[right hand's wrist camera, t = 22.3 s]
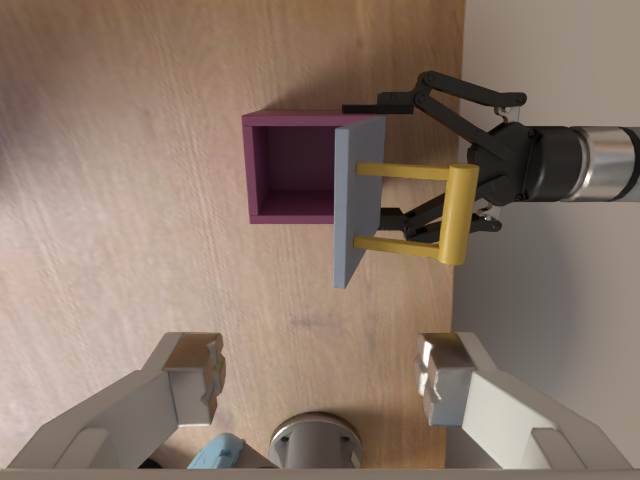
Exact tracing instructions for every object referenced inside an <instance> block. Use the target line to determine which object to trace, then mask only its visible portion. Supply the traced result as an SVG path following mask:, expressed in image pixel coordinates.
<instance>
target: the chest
mask: <svg viewBox="0 0 640 480" xmlns="http://www.w3.org/2000/svg"><path fill="white" fill-rule="evenodd" d="M375 116H380V115H377V114H343V113H342V110H259V111H256V112H253V113H249V114H246V115H242V129H243V142H244V156H245V169H246V182H247V195H248V208H249V221H250V224H334V178H335V129H336V128H339V127H342V126H345V125H349V124H352V123H355V122H358V121H362V120H365V119H368V118H371V117H375Z"/></svg>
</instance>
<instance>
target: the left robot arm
mask: <svg viewBox="0 0 640 480" xmlns="http://www.w3.org/2000/svg"><path fill="white" fill-rule="evenodd" d="M431 89H434V90H437V91H440V92H444V93H447V94H450V95H453V96H456V97H459V98H462V99H465V100H468V101H472V102H475V103H478V104H481V105H485V106H492V107H494V112H495V114H497V115H500V116H502V117H503V119H504V122H503V123H501V124H499V125H498V126H496V127H495V128H493V129H492V130H490V131H489V132H487V133H486V132H485V131H483V130H481V129H479V128H478V127H476V126H474V125H473V124H471V123H470V122H468V121H467V120H465V119H464V118H462V117H461V116H459V115H458V114H456V113H455V112H453V111H452V110H450V109H449V108H447V107H445V106H444V105H442V104H441V103H439V102H438V101H436V100H435V99H433V98H432V97H430V96H429V93H430V91H431ZM526 100H527V96H526V94H525V93H519V92H518V93H517V92H516V93H515V92H508V93H499V92H496V91H493V90H490V89H487V88H484V87H480V86H477V85H474V84H471V83H468V82H465V81H462V80H459V79H456V78H453V77H450V76H447V75H444V74H441V73H438V72H435V71H427V72H423V73H421V74H420V75H419V76H418V81H417V83H416V86H415V88H414V89H413V90H412V91H410V92H382V93H380V94H378V96H377V105H342V113H343V114H413V110H414V106H415V107H416V108H418V109H419V110H421V111H423V112H424V113H426V114H427V115H429V116H430V117H432V118H433V119H435V120H437V121H438V122H440V123H441V124H443V125H444V126H446V127H447V128H449V129H451V130H452V131H454V132H455V133H457V134H458V135H460V136H461V137H462V138H464V139H465V140H467V141H468V142H470V143H471V144H472V145H471V147H470V148H468V152H467V160H468V164H473V165H477V166H479V174H478V181H477V187H476V193H475V199H474V202H475V201H477V200H479V199H481V198H484V199H485V200H487V201H488V202H489V205H488V206H487V207H486V208H483V209H479V210H478V211H477V213H472V218H471V224H470V231H469V233H473V232H477V231H489V232H497V231H499V230H500V229H501V227H502V224H501V222H499V221H498V219H499V216H500V212H501V208H502V206H505V205H507V204H509V203H511V202H556V201H561V202H640V127H608V126H573V127H569V128H568V127H565V126H524V125H522V124H521V123H519V122H518V119H519V112H520V106H522V105H524V104H525V102H526ZM444 199H445V193H443V194H441V195H439V196H437V197H436V198H434V199H432V200H430V201H428V202H426V203H424V204H422V205H420V206H418V207H416V208H414V209H413V210H411V211H409V212H407V213H405V214H403V213H402V211H401V210H400V208H381V209H380V225H379V227H378V229H377V230H400V231H402V232H403V234H404V238H405V239H406V241H412V242H421V243H434V242H438V241H439V238H440V231H441V223H442V221H439V222H435V223H431V224H427V223H429V222H431V221H433V220H435V219H437V218H439V217H441V216H442V215H443V207H444ZM425 224H427V225H425ZM361 462H362V445H361V439H360V437H359V434H358V433H357V431H356V430H355V428H354V427H353V426H352V425H351V424H349V423H348V422H347V421H345V420H343V419H341V418H339V417H337V416H334V415H331V414H326V413H305V414H300V415H297V416H294V417H292V418H289V419H288V420H286V421H284V422H283V423H282V424H280V425H279V426H278V427H277V428H276V430H275V431H274V433H273V434H272V437H271V440H270V447H269V460H268V459H266V458H265V457H264V456H262V455H261V454H259V453H258V452H257V451H255V450H254V449H253V448H252V447H250V446H249V445H248V444H246V441H245V440H244V439H240V438H238V437H237V436H235V435H233V434H231V433H223V434H220V435H218V436H217V437H215V438H214V439H212V440H211V441H210V442H209V443H208V444H207V445H206V446H205V447H204V448H203V449H202V450H201V451H200V452H199V453H198V454H197V456H196V457H195V458H194V459H193V461H192V462H191V463H190V465H189V466H188V467H187V469H360V466H361Z"/></svg>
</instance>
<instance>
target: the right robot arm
mask: <svg viewBox="0 0 640 480" xmlns="http://www.w3.org/2000/svg"><path fill="white" fill-rule="evenodd" d="M222 348H223V338H222V335H221V334H220V333H205V332H168V333H165V334H164V335H163V337H162V339H161V340H160V342H159V343H158V345H157V346H156V348H155V349H154V351H153V352H152V354H151V355H150V357H149V358H148V360H147V361H146V363H145V365H144V366H143V368H142V369H141V370H136V371H133V372H132V373H130V374H128V375H127V376H125V377H123V378H122V379H120V380H118V381H117V382H115V383H113V384H112V385H110V386H108V387H106V388H105V389H103V390H101V391H100V392H98V393H96V394H95V395H93V396H91V397H90V398H88V399H86V400H85V401H83V402H81V403H79V404H78V405H76V406H74V407H73V408H71V409H69V410H68V411H66V412H64V413H63V414H61V415H59V416H58V417H56V418H54V419H53V420H51V421H49V422H47V423H46V424H44V425H42V426H41V427H40V429H39V430H38V431H37V432H36V433H35V435H34V436H33V437H32V438H31V439H30V440H29V442H28V443H27V444H26V445H25V446H24V448H23V449H22V450H21V451H20V452H19V454H18V455H17V456H16V457H15V458H14V460H13V461H12V462H11V463H10V464H9V465H8V467H7V468H6V469H0V480H640V469H634V468H633V467H632V465H631V464H630V463H629V462H628V461H627V459H626V458H625V457H624V456H623V455H622V454H621V452H620V451H619V450H618V449H617V448H616V446H615V445H614V444H613V443H612V442H611V440H610V439H609V438H608V437H607V436H606V434H605V433H604V432H603V431H602V430H601V428H600V427H599V426H597V425H596V424H594V423H592V422H591V421H589V420H587V419H585V418H584V417H582V416H580V415H579V414H577V413H575V412H574V411H572V410H570V409H569V408H567V407H565V406H564V405H562V404H560V403H559V402H557V401H555V400H553V399H552V398H550V397H548V396H547V395H545V394H543V393H542V392H540V391H538V390H537V389H535V388H533V387H532V386H530V385H528V384H527V383H525V382H523V381H522V380H520V379H518V378H517V377H515V376H513V375H512V374H510V373H508V372H506V371H503V370H499V369H498V368H497V366H496V365H495V363H494V362H493V360H492V359H491V357H490V356H489V354H488V353H487V351H486V350H485V348H484V347H483V345H482V344H481V342H480V341H479V339H478V337H477V336H476V334H475V333H473V332H454V333H419V335H418V338H417V348H418V351H419V354H418V355H417V357H416V358H415V363H414V376H415V382H416V387H417V390H418V393H420V394H421V395H422V396H423V408H424V411H425V414H426V417H427V420H428V423H429V425H431V426H462V429H463V430H464V431H465V432H466V433H467V434H469V436H471V437H472V438H473V439H474V440H475V441H476V442H477V443H478V444H479V445H480V446H481V447H482V448H483V449H484V450H485V451H486V452H487V453H488V454H489V455H490V456H491V457H492V458H493V459H494V460H495V461H496V462H497V463H498V464H499V465H500V466H501V467H502V468H503V469H137V468H138V467H139V466H140V465H141V464H142V463H143V462H144V461H145V460H146V459H147V458H148V457H149V456H150V455H151V454H152V453H153V452H154V451H155V450H156V449H157V448H158V447H159V446H160V445H161V444H163V443H164V442H165V441H166V440H167V439H168V438H169V437H170V436H171V435H172V434H173V433H174V432H175V431H176V430H177V429H178V426H208V425H211V423H212V420H213V417H214V414H215V411H216V408H217V396H218V395H219V394H220V393H222V390H223V387H224V382H225V376H226V362H225V358H224V357H223V355H222V354H221V351H222Z"/></svg>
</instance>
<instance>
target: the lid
mask: <svg viewBox="0 0 640 480" xmlns="http://www.w3.org/2000/svg"><path fill="white" fill-rule="evenodd" d="M385 129H386V116H375V117H371V118H368V119H365V120H362V121H358V122H355V123H352V124H349V125H345V126H342V127H339V128H336V129H335V178H334V250H333V287H336V288H342V289H345V288H346V286H347V284H348V282H349V281H350V279H351V277H352V275H353V273H354V271H355V270H356V268H357V266H358V264H359V262H360V260H361V259H362V257H363V255H364V253H365V251H366V249H369V250H377V251H385V252H393V253H401V254H409V255H417V256H425V257H433V258H437V259H438V261H440V262H441V263H444V264H447V265H461V264H463V263H464V262H465V256H466V250H467V243H468V237H469V231H470V224H471V218H472V212H473V205H474V199H475V193H476V187H477V181H478V174H479V166H477V165H473V164H463V163H456V164H450V165H449V167H445V166H427V165H409V164H391V163H383V161H384V145H385ZM383 176H386V177H402V178H417V179H432V180H447V184H446V192H445V199H444V207H443V215H442V223H441V231H440V238H439V244H430V243H421V242H412V241H404V240H395V239H386V238H378V237H374V235H375V233H376V231H377V229H378V227H379V225H380V209H381V193H382V177H383Z"/></svg>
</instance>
